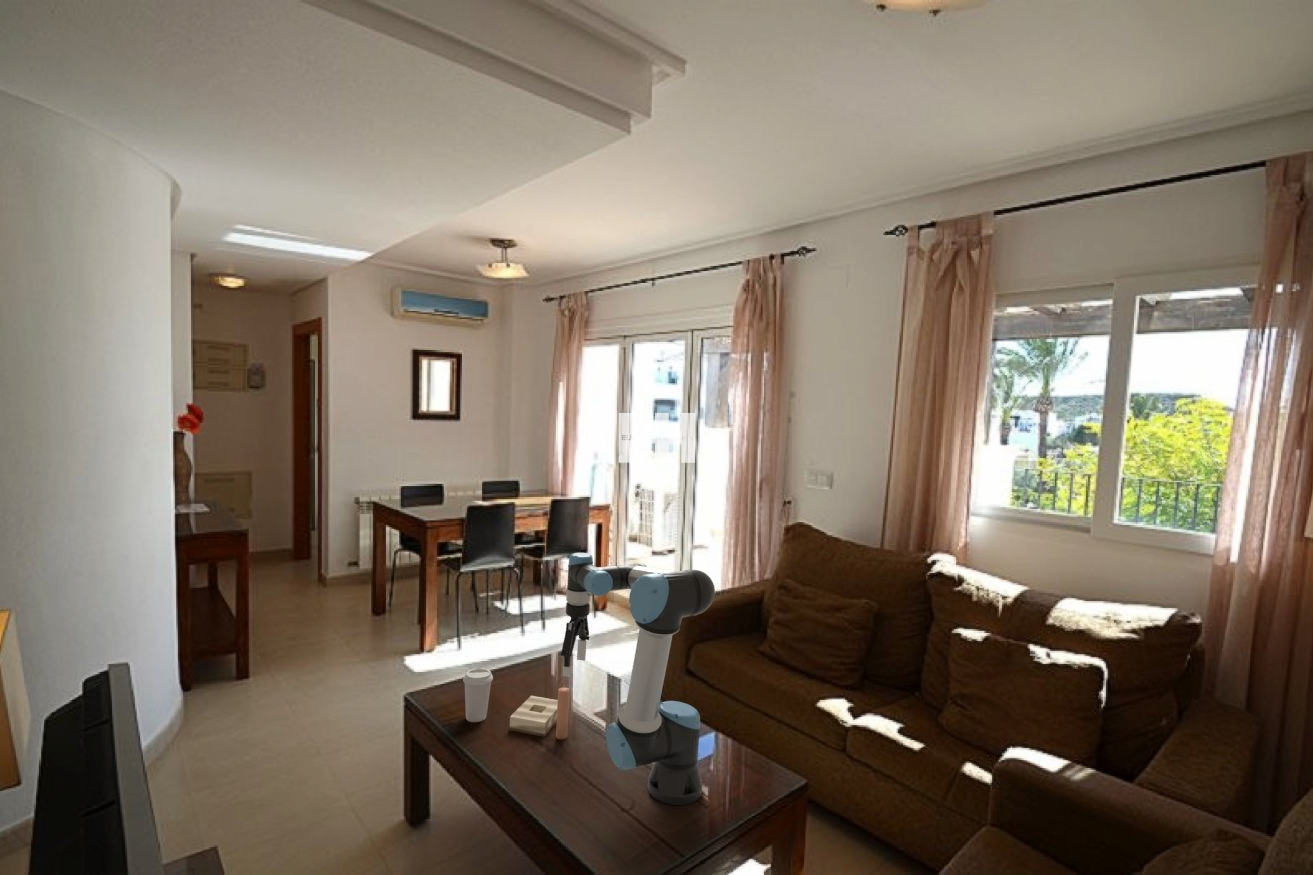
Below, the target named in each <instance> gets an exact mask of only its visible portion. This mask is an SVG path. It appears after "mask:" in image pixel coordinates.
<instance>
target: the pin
mask: <svg viewBox="0 0 1313 875" xmlns="http://www.w3.org/2000/svg"><path fill="white" fill-rule="evenodd" d="M557 692H558V693H557V700H558V705H557V722H556V723H555V726H556V728H555V738H556V739H557V740H565V739H567V738H568V728H569V712H570V708H569V707H570V695H571V694H570V693H571V689H570V688H569V687H559V688H558V691H557Z"/></svg>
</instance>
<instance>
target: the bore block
mask: <svg viewBox="0 0 1313 875" xmlns="http://www.w3.org/2000/svg"><path fill="white" fill-rule="evenodd" d="M557 705H558V699H552V698H547V697H541V696H535V695H530V696H529V697H528V698H527V699H526V700H525V701H524V702H523V703H522V704H521V705H520V706H519V707H518V708H517V709H516V710H515V711H514V712H513V713H512V714H511V715H510V716H509V731H511V732H516V733H522V734H528V735H532V736H537V737H543V738H544V737H546V736H547V734H549V732H550V730H551V729H553V727H554V726H556V723H557Z"/></svg>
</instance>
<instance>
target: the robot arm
mask: <svg viewBox="0 0 1313 875" xmlns="http://www.w3.org/2000/svg"><path fill="white" fill-rule="evenodd" d="M593 559H594V558H593V555H592V554H591V553H586V552H574V553H571V554H570V555H569V556H568V564H567V567H568V568H567V569H568V570H567V587H566V588H567V589H566V603H565V614H566V616H569V617H570V620H569V622H566V626H565V633H564V638H563V643H562V647H561V652H560V656H562V658H563V661H562V662H563V663H562V675H561V676H562V677H568V678H571V677H572V674H573V673H572V672H573V658H574V655H573V652H574V648H575V643H576V640H577V637H578V640H577V648H576V650H577V651H576V652H577V653H576V661H577V660H578V661H584V662H585V661H586V656H587V654H586V652H587V641H589V640H590V636H589V635H590V630H589V629H590V628H589V621H588V616H589V615H590V612H591V610H590V608H591V603H590V602H591V597H592V596H593V595H594V596H596V597H603V596H604V597H605V595H607V594H608V593H610V592H614V591H615V592H616V591H622V590H629V591H630V592H629V596H628V597H629V598H628V604H629V605H630V606H629V610H630V614H631V616H632V618H633V619H634V621H635V624H636V626H637V627H638V628H639V631H638V635H637V641H636V647H635V652H634V659H633V663H632V669H631V674H630V680H629V685H628V692H627V696H626V702H625V704H624V705H623V706H622V707H621V708H620V709H619V710H618V715H617V720H616V722H611V723H610V724H608V726H607V727H606V730H605V741H606V748H607V750H608V754H609V756H610V758H611V760H612V762H613V763H614V764H613V765H615V766H616V767H617V768H618V769H619V770H622V771H628V770H633V769H634V770H635V769H636V768H639V767H642V766H646V765H649V764H653V765H652V768H651V770H650V772H649V775H648V778H647V790H648V793H649V794H650V795H651V796H652V797H653V798H654V799H655V800H657V801H659V802H660V803H663V804H667V805H672V806H685V805H689V804H690V805H691V804H692V803H694V802H696V801H698V800H699V799H700V797H701V796H702V793H703V781H702V780H703V779H702V776H701V772H700V768H699V765H698V764H699V763H698V759H699V758H698V757H699V744H700V743H699V742H700V730H701V716H700V713H699V711H698V710H697V709H696V708H695V707H694V706H692V705H690V704H688V703H685V702H681V701H676V700H666V701H663V702H661V696H662V691H663V686H664V683H665V682H664V681H665V676H666V671H667V666H668V661H669V655H670V650H671V646H672V639H673V635H676V634H677V633H678V632H679V631H680V629H681V624H682V620H683V618H686V617H687V618H689V617H693V616H694V617H695V616H698V615H700V614H702V613H705V611H707V610H708V609H709V608H710V607H711V605H712V604H713V601H714V600H715V595H716V589H715V584H714V582H713V580H712V578H711V577H710V576H709V575H708V574H707V573H706V572H704V571H701V570H698V569H685V570H683V569H682V570H675V571H674V570H668V569H661V568H656V567H655V568H654V567H650V566H647V565H646V564H644V563H631V564H621V565H609V566H595V565H593V563H594V560H593Z"/></svg>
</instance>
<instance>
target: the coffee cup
mask: <svg viewBox="0 0 1313 875" xmlns="http://www.w3.org/2000/svg"><path fill="white" fill-rule="evenodd" d="M463 676H464V677H463V678H462V682H463V683H464V702H465V719H466V720H467V721H468V722H470V723H479V722H480V723H481V722H482V721H484V720H486V718H487V714H488V709H489V708H488V707H489V701H490V700H489V699H490V692H491V685H492V681H493V680H494V677H493V674H492V671H491V670H489V669H488V668H483V667H477V668H476V667H475V668H471V669H469V670H467V671H466V673H465V675H463Z"/></svg>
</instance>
